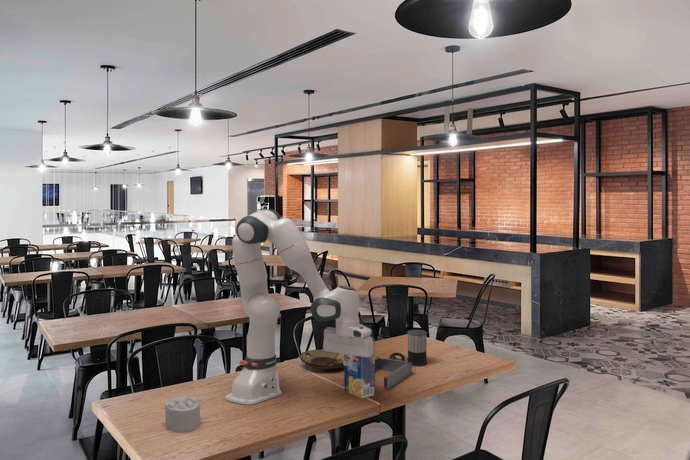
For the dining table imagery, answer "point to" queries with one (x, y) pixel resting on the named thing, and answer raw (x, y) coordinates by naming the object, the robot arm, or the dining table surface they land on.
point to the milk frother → (415, 348)
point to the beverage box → (360, 376)
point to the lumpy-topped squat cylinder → (182, 414)
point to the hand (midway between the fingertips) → (347, 365)
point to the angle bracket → (393, 370)
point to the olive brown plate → (321, 359)
